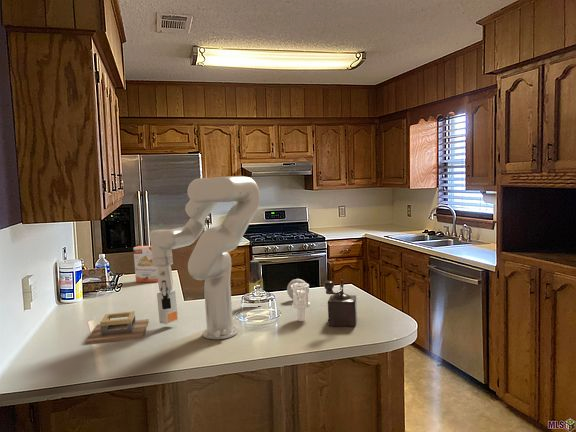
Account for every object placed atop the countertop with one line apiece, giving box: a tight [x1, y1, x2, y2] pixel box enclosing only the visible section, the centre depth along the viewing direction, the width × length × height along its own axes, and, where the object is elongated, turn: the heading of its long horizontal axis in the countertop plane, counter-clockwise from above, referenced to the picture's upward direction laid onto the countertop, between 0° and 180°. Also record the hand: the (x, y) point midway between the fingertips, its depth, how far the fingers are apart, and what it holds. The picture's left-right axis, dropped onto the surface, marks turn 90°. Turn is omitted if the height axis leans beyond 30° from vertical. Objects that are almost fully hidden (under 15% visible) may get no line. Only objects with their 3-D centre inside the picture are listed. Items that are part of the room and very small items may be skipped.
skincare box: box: [156, 289, 179, 325], centre depth 183 cm, size 6×4×12 cm
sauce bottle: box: [248, 259, 264, 294], centre depth 209 cm, size 6×6×20 cm
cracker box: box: [132, 245, 158, 283], centre depth 273 cm, size 14×6×21 cm, turn 80°
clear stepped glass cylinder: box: [291, 282, 311, 322], centre depth 184 cm, size 7×7×15 cm
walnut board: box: [85, 318, 150, 345], centre depth 181 cm, size 20×20×1 cm
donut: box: [286, 278, 310, 300], centre depth 213 cm, size 10×4×10 cm, turn 86°
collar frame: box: [99, 311, 137, 335], centre depth 181 cm, size 11×11×5 cm
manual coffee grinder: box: [322, 279, 358, 328], centre depth 175 cm, size 16×11×18 cm
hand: (167, 306), depth 183 cm, fingers closed on skincare box, 7 cm apart
